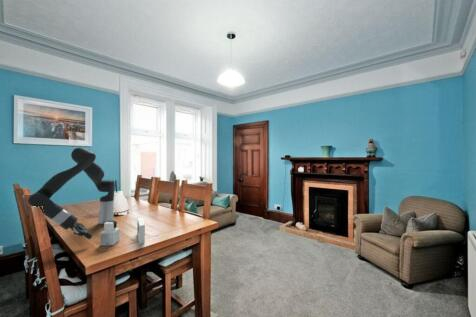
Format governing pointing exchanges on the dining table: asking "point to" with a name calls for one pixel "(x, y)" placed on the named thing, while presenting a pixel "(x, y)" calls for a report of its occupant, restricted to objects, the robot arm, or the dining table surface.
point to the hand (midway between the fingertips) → (91, 237)
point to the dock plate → (141, 230)
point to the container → (110, 233)
